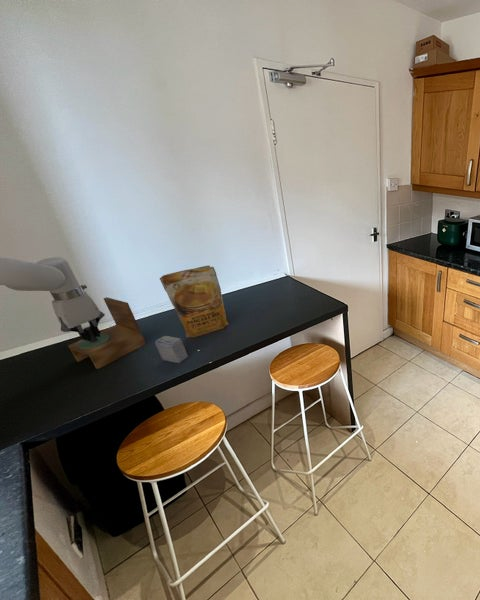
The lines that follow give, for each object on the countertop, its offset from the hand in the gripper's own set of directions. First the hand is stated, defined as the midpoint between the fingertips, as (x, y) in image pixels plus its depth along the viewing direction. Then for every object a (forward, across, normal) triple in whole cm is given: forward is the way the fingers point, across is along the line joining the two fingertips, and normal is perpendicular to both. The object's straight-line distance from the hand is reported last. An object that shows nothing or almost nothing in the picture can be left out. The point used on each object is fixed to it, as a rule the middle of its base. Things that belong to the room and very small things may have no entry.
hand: (92, 337), depth 116 cm
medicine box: (+9, -9, +27) cm, 30 cm away
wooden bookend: (+9, -4, 0) cm, 10 cm away
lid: (+2, 0, 0) cm, 2 cm away
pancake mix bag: (+9, -28, +21) cm, 37 cm away
